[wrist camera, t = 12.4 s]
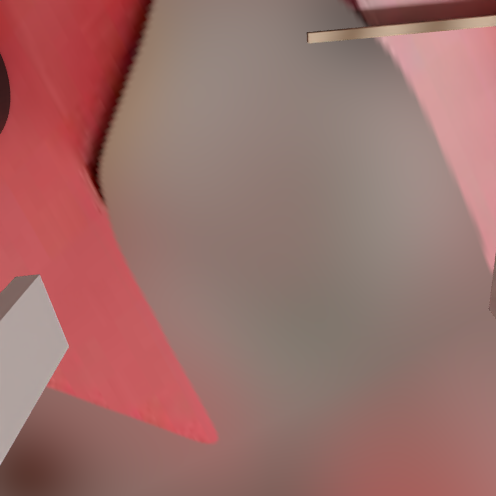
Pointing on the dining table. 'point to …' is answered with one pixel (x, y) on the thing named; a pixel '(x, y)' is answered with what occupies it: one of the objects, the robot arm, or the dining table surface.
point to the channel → (402, 29)
